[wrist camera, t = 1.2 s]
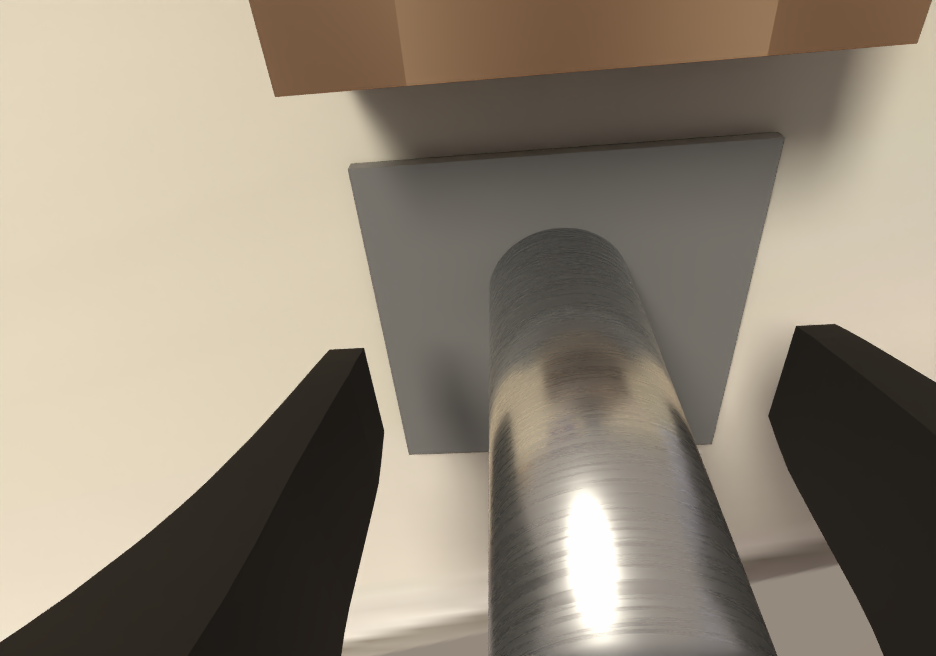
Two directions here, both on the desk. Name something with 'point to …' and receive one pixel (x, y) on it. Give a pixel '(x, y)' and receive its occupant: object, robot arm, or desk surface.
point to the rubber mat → (546, 207)
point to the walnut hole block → (549, 36)
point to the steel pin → (598, 474)
